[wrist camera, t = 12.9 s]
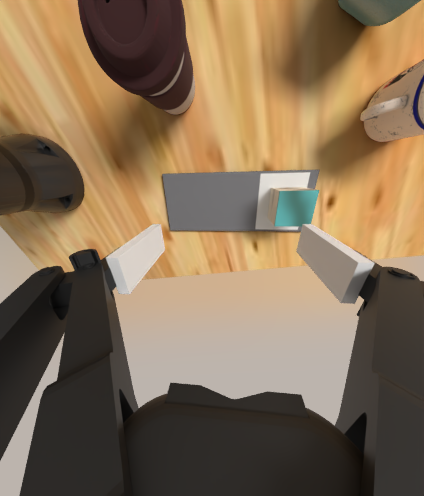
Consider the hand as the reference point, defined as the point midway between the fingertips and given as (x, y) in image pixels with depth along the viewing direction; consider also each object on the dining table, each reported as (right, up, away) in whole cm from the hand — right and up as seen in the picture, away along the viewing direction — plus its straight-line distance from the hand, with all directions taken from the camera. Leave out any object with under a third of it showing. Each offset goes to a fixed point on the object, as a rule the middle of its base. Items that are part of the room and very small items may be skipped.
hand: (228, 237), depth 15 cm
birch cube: (+13, +6, +12) cm, 18 cm away
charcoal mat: (+4, +9, +19) cm, 21 cm away
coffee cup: (-8, +26, +12) cm, 30 cm away
